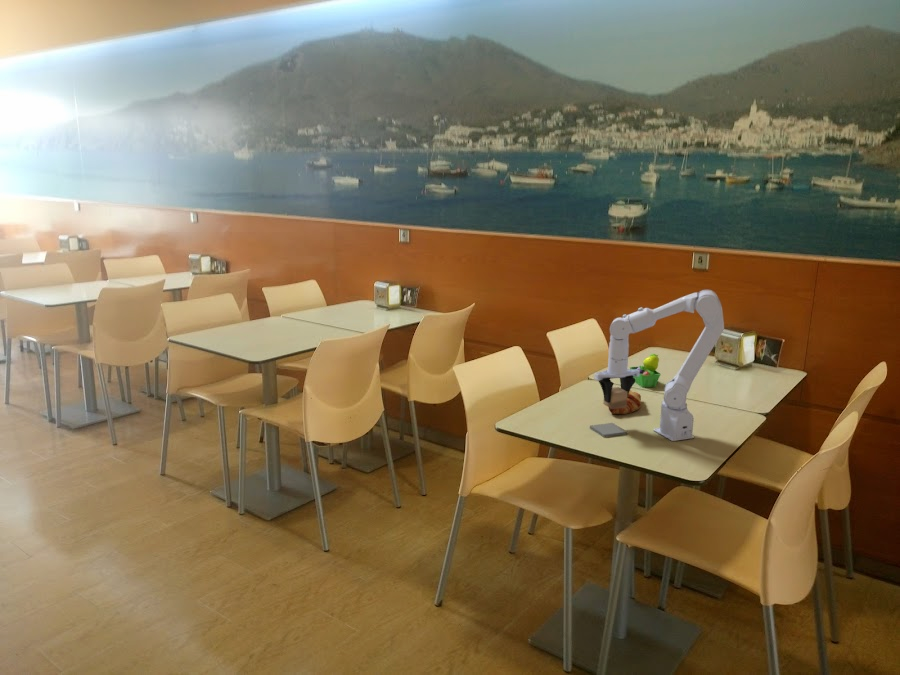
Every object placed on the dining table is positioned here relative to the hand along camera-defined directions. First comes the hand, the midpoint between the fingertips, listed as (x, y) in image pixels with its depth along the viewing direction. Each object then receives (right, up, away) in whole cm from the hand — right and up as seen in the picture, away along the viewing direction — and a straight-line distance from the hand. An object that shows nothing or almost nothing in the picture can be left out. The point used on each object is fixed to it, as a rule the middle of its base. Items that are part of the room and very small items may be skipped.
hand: (615, 400), depth 208 cm
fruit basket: (+22, +2, +46) cm, 52 cm away
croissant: (+8, -5, +19) cm, 21 cm away
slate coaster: (-3, -9, -2) cm, 9 cm away
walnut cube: (0, -2, +1) cm, 2 cm away
